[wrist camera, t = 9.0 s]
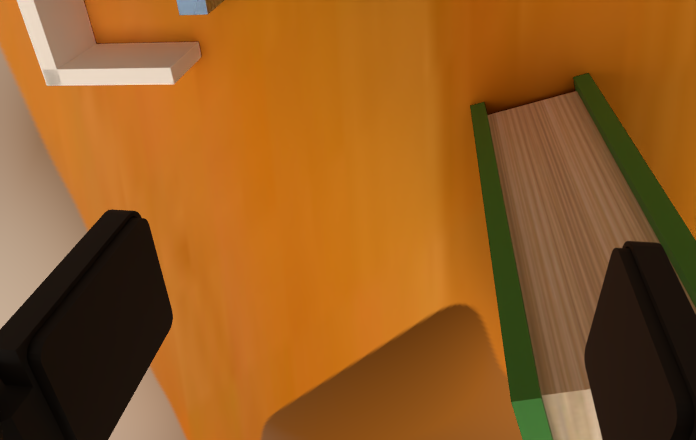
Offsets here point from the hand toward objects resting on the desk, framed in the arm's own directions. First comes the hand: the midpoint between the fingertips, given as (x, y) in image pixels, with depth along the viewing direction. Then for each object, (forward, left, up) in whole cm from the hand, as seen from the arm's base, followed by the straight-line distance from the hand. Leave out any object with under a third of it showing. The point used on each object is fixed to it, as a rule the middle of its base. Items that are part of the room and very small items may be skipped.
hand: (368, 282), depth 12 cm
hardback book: (-10, +15, -28) cm, 33 cm away
